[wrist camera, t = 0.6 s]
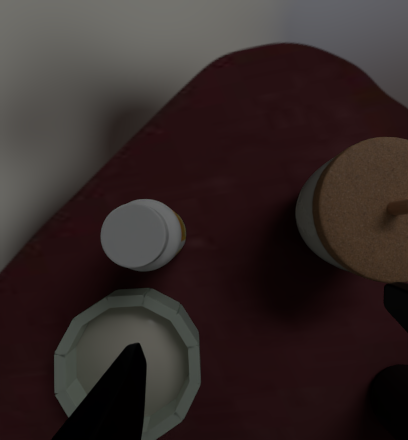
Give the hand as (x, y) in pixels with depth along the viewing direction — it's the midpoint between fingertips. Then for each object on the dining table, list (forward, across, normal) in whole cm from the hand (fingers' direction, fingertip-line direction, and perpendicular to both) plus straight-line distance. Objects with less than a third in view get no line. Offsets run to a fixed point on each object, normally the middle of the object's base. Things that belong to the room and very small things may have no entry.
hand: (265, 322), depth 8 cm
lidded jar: (+15, -12, +3) cm, 20 cm away
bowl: (+12, +10, +12) cm, 20 cm away
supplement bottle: (+16, +6, +1) cm, 17 cm away
